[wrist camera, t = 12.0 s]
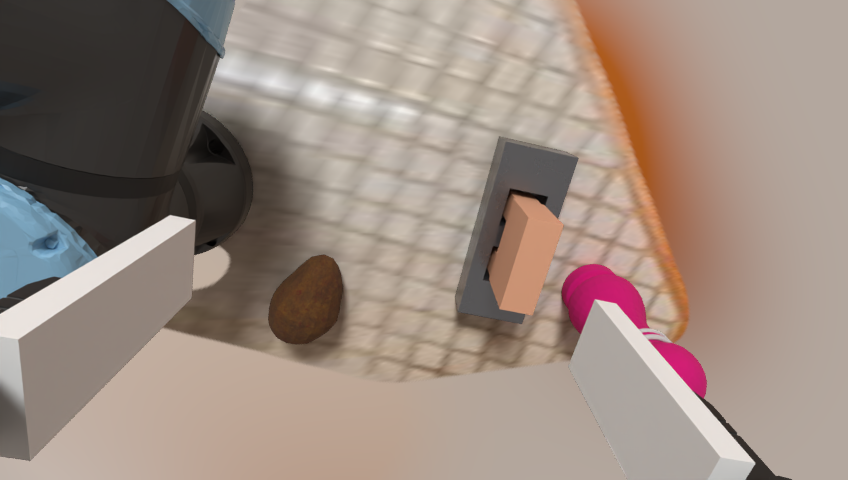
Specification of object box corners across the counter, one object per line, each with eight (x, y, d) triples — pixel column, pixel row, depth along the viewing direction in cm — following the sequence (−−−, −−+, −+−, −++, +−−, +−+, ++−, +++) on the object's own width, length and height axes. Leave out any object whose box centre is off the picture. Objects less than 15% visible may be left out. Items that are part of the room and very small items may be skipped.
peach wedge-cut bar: (483, 263, 48) (499, 309, 39) (505, 187, 46) (528, 217, 36) (509, 268, 49) (532, 315, 39) (533, 194, 46) (564, 225, 36)
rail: (455, 296, 50) (457, 311, 47) (499, 136, 44) (506, 141, 41) (514, 307, 51) (521, 324, 48) (566, 151, 45) (578, 157, 42)
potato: (363, 266, 49) (355, 295, 42) (323, 338, 52) (309, 377, 45) (303, 237, 48) (286, 263, 41) (266, 313, 51) (244, 349, 44)
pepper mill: (633, 291, 50) (763, 420, 32) (580, 328, 52) (673, 472, 33) (598, 246, 49) (714, 355, 30) (544, 286, 50) (621, 414, 31)
